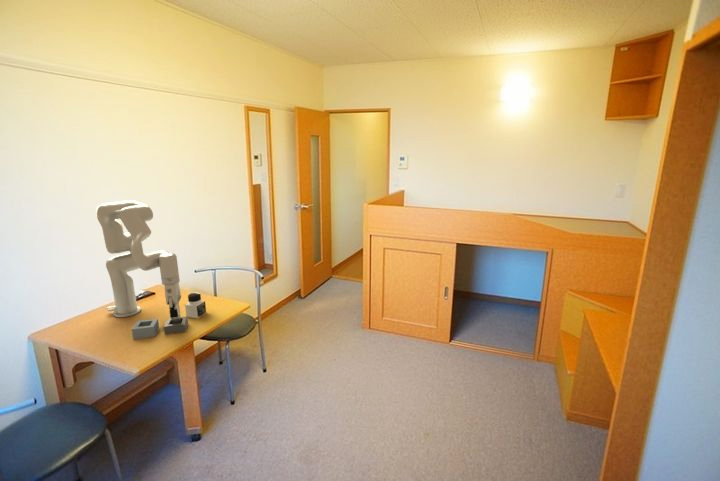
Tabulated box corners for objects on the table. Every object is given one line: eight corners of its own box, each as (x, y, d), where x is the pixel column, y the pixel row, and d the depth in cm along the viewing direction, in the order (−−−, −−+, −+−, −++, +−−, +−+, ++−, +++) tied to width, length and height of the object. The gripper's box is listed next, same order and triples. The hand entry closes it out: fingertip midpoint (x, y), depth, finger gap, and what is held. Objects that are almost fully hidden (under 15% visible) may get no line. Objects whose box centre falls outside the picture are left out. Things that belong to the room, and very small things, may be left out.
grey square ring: (164, 334, 172) (163, 326, 171) (168, 325, 181) (167, 318, 180) (185, 331, 175) (184, 324, 174) (188, 323, 183) (187, 316, 182)
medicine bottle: (198, 318, 189) (195, 297, 186) (186, 317, 190) (183, 295, 187) (206, 312, 195) (204, 291, 192) (194, 311, 197) (192, 290, 194)
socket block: (133, 339, 168) (131, 329, 167) (138, 330, 176) (137, 320, 175) (154, 336, 170) (153, 326, 169) (159, 327, 179) (158, 318, 177)
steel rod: (171, 328, 175) (168, 305, 172) (173, 324, 179) (170, 301, 176) (180, 326, 176) (177, 304, 173) (182, 323, 180) (179, 300, 177)
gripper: (175, 284, 165) (180, 321, 169) (182, 273, 180) (186, 307, 185) (157, 286, 163) (162, 323, 167) (165, 274, 178) (170, 308, 183)
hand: (175, 314), depth 176 cm, fingers closed on steel rod, 4 cm apart
